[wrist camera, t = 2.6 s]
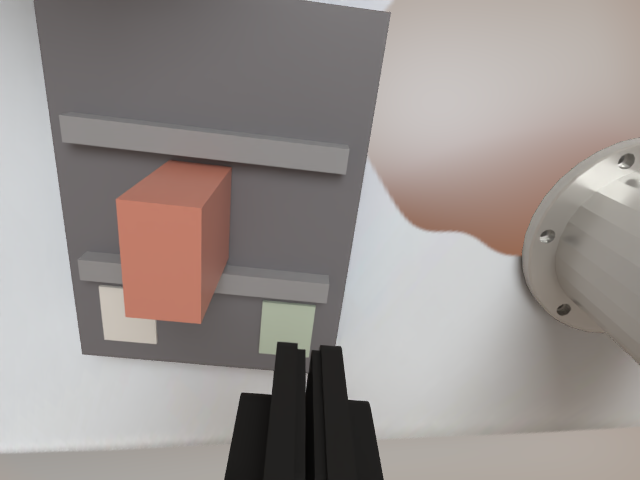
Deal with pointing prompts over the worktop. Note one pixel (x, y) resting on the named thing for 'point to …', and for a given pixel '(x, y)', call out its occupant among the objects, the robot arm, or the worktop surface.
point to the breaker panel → (215, 157)
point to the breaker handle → (174, 240)
